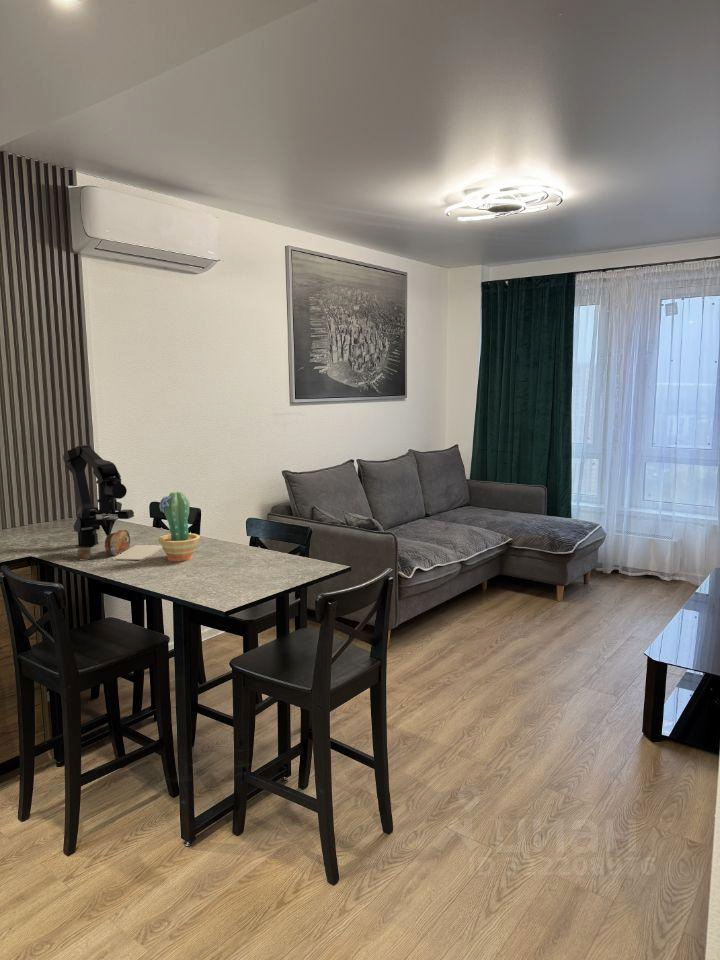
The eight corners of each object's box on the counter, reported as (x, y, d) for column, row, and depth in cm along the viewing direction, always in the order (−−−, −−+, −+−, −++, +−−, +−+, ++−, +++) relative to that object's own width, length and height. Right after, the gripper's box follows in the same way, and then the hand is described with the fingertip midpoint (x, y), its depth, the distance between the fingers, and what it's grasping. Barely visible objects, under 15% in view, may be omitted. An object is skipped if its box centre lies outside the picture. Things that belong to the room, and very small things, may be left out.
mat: (111, 560, 244) (111, 558, 244) (135, 546, 266) (135, 545, 265) (143, 560, 243) (143, 559, 243) (165, 547, 265) (165, 545, 265)
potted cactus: (167, 552, 255) (164, 489, 252) (206, 553, 254) (204, 489, 251) (152, 563, 240) (149, 495, 237) (194, 563, 239) (192, 495, 236)
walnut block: (77, 560, 243) (77, 550, 243) (79, 558, 247) (78, 547, 246) (89, 560, 244) (89, 549, 244) (90, 557, 248) (90, 547, 247)
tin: (111, 558, 247) (110, 536, 246) (103, 557, 248) (102, 535, 247) (131, 548, 262) (130, 528, 261) (123, 548, 262) (122, 527, 261)
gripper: (138, 493, 259) (140, 532, 261) (92, 492, 261) (94, 531, 263) (126, 497, 248) (128, 538, 250) (79, 496, 250) (81, 537, 252)
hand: (108, 536), depth 254 cm, fingers closed
